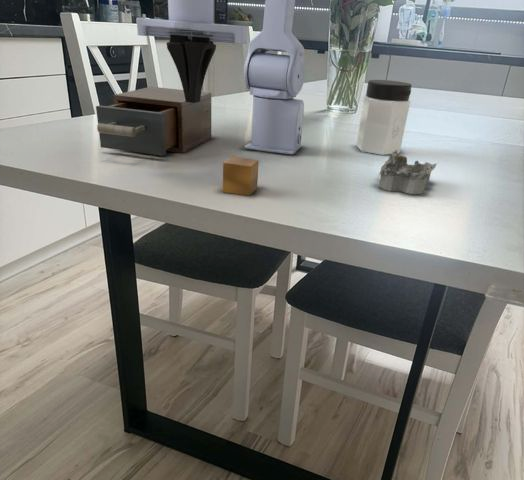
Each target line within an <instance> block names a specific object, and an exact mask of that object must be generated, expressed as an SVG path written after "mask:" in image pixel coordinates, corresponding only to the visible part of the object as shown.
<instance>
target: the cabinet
mask: <svg viewBox="0 0 524 480" xmlns="http://www.w3.org/2000/svg"><path fill="white" fill-rule="evenodd" d="M126 101H128V102H136V103H145V104H154V105H163V106H172V107H177V111H178V138H179V144H177V145H175V146H173V147H171V148H169V149H167V150H166V152H170V153H171V152H172V153H178V154H184V153H186V152H188V151H190V150H191V149H194V148H195V147H197V146H199V145H201V144H203V143H205V142H206V141H208V140H210V139H212V92H206V91H205V92H204V91H201V97H200V101H199V102H196V103H191V102H186V100H185V95H184V91H183V89H177V88H167V87H158V86H148V87H143V88H138V89H135V90H130V91H125V92H121V93H116V94H113V103H114V104H118V103H122V102H126ZM114 104H113V105H114Z"/></svg>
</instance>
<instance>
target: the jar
mask: <svg viewBox="0 0 524 480" xmlns="http://www.w3.org/2000/svg"><path fill="white" fill-rule="evenodd" d="M412 87H413V86H412V84H411V83H409V82H405V81H397V80H387V79H370V80H368V81H367V86H366V93H365V95H364V96H363V102H362V107H361V113H360V119H359V120H360V121H359V125H358V132H357V139H356V143H355V144H356V147H357V148H358V149H359V150H360V151H361V152H362V153H369V154H375V155H380V156H385V155H391V153H393V151H396V150H397V154H400V152H401V147H402V143H403V137H404V133H405V129H406V125H407V120H408V115H409V109H410V107H411V106H410V105H411V100H410V97H411V93H412Z"/></svg>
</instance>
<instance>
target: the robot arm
mask: <svg viewBox="0 0 524 480" xmlns="http://www.w3.org/2000/svg"><path fill="white" fill-rule="evenodd" d="M214 2H215V1H214V0H167V9H168V19H163V18H162V19H161V18H159V19H158V18H146V17H136V29H137V30H136V31H137V36H140V37H141V36H143V37H157V38H169V41H167V42H166V48H167V51H168V53H169V54H170V57H171V58H172V61H173V63H174V66H175V67H176V70H177V73H178V76H179V80H180V82H181V86H182V90H183V91H184V95H185V100H186V102H191V103H196V102H199V101H200V97H201V92H203V86H204V82H205V78H206V74H207V72H208V69H209V66H210V63H211V61H212V58H213V56H214V54H215V52H216V50H217V45H216V44H214V42H215V43H227V44H235V45H247V43H248V26H247V25H236V24H225V23H215V22H214V21H215V20H214V15H215V14H214V13H215V11H214V10H215V9H214V8H215V7H214V6H215V4H214ZM295 5H296V0H265V1H264V11H263V21H262V30H261V31H260V32H259V33H258V34H257V35H255V37H253V39H251V40H250V41H249V43H248V49H247V55H246V59H245V61H244V66H243V80H244V84H245V86H246V88H247V90H249V95H250V96H252V113H251V138H250V142H248V143H247V144H245V145H244V146H243V147H244V149H245V150H251V151H252V150H253V151H260V152H267V153H268V152H269V153H277V154H284V155H295V154H296V152H298V150H300V148H301V147H302V135H303V125H304V117H305V116H304V115H305V103H304V100H302V99H297V98H296V97H297V96H298V94H299V93H300V92H301V91H302V89H303V86H304V84H305V77H306V65H305V59H306V58H305V56H306V50H305V48H304V46H303V44H302V43H301V42H300V40H299V39H298V38H297V37H296V36H295V35H294V33H293V32H292V31H293V22H294V13H295ZM181 30H185V31H195V32H197V31H199V32H203V33H202V34H203V35H196V34H188V33H187V34H185V33H181ZM270 52H280V54H279V53H270ZM281 52H282V53H287V54H281Z"/></svg>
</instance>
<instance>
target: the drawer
mask: <svg viewBox="0 0 524 480" xmlns="http://www.w3.org/2000/svg"><path fill="white" fill-rule="evenodd" d="M95 111H96V118H97V119H96V120H97V126H96V129H97V132H98V135H99V144H100V147H101V148H102V149H110V150H116V151H117V150H118V151H125V152H131V153H133V152H134V153H139V154H148V155H154V156H155V155H156V156H161V157H163V156H165V155H166V154H167V151H166V150H167V149H169V148H171V147H173V146H175V145H177V144H179V138H178V111H177V107H172V106H163V105H154V104H145V103H136V102H128V101H126V102H122V103H118V104H111V105H100V104H99V105H96V106H95Z"/></svg>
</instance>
